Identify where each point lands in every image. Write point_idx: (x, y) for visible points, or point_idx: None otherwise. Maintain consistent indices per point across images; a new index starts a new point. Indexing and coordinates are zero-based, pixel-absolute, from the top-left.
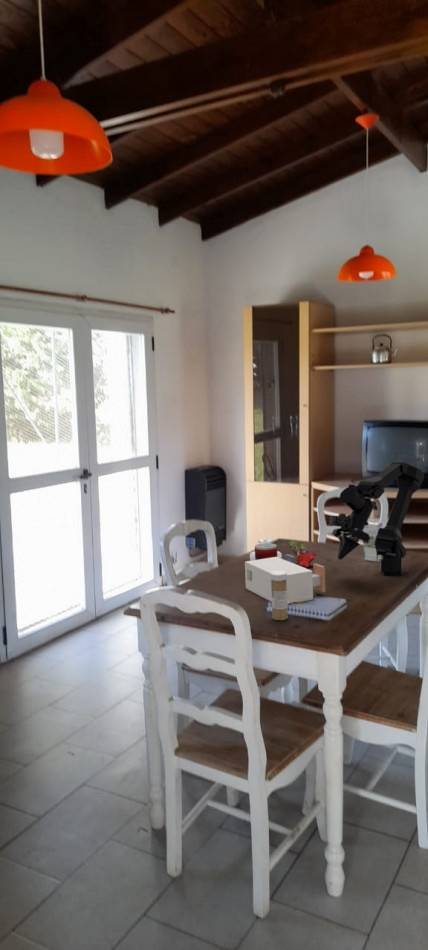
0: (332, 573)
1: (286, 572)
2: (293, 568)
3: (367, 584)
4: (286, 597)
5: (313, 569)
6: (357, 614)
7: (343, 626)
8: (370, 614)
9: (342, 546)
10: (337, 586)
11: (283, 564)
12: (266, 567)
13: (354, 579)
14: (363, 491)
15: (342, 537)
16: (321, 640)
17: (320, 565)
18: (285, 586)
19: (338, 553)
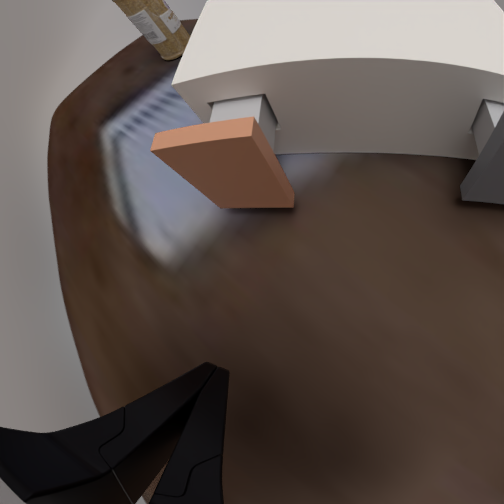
0: (489, 465)
1: (236, 6)
2: (273, 29)
3: (251, 477)
4: (136, 27)
5: (264, 139)
6: (76, 205)
7: (70, 144)
8: (60, 232)
9: (111, 421)
10: (319, 364)
11: (381, 22)
12: None
13: (350, 493)
14: None
15: (17, 462)
16: (74, 95)
17: (187, 139)
18: (121, 9)
19: (219, 400)
